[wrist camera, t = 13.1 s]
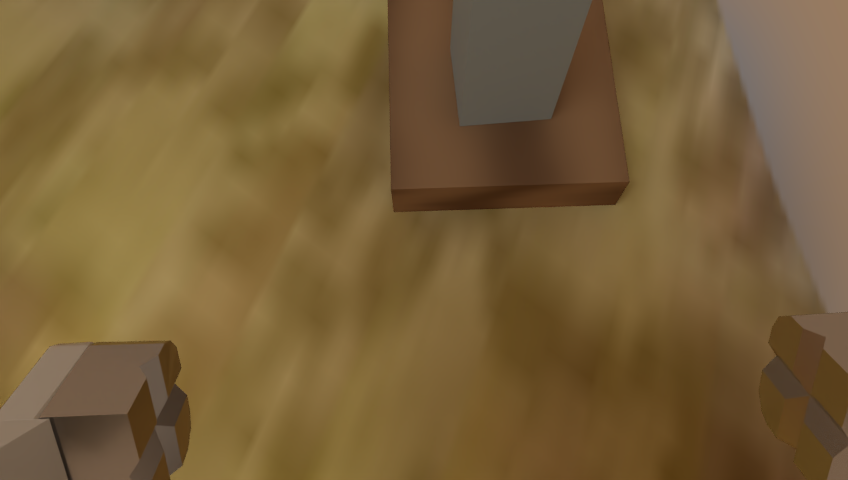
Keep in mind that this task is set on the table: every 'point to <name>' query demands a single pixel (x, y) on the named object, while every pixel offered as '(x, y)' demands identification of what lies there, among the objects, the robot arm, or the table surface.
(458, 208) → the base slab
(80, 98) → the table surface
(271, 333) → the table surface
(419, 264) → the table surface
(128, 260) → the table surface
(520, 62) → the pillar
